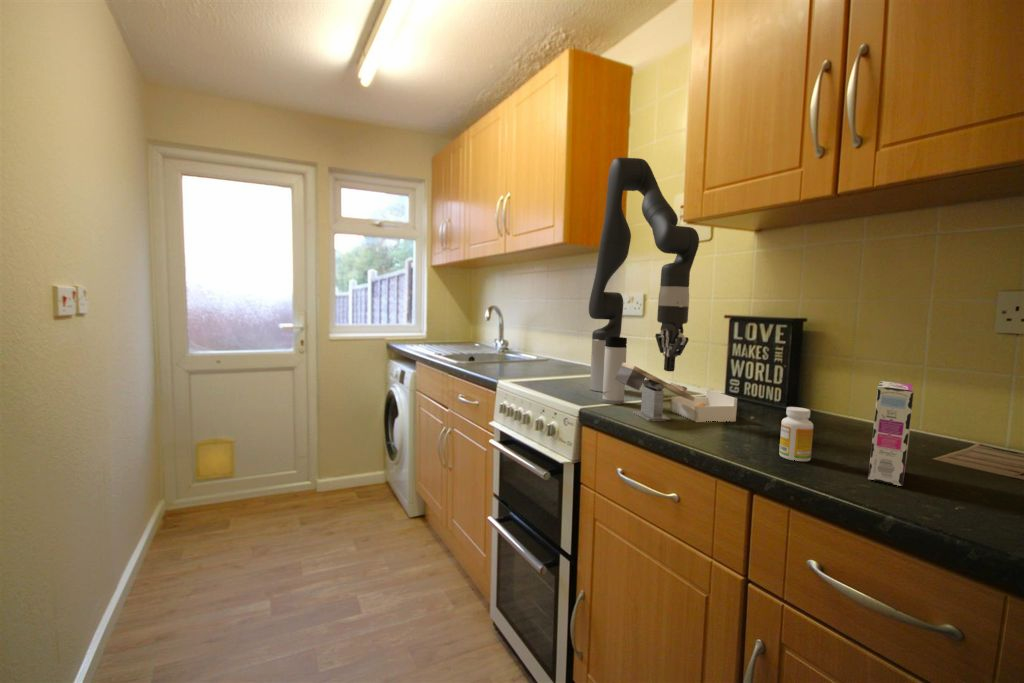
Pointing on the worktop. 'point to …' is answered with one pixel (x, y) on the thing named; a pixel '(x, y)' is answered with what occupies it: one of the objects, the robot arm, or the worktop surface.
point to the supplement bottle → (796, 435)
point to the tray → (706, 407)
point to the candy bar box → (891, 432)
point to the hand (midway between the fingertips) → (669, 370)
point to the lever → (636, 376)
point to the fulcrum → (652, 401)
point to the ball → (700, 404)
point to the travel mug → (613, 369)
